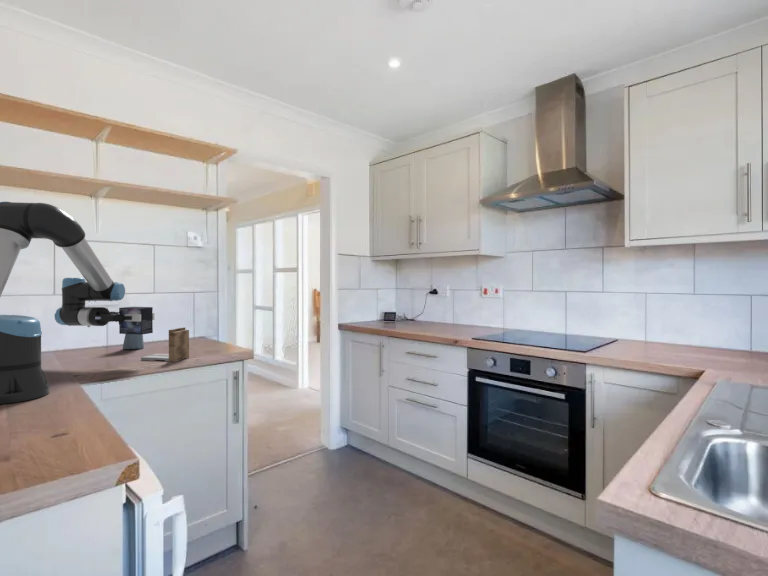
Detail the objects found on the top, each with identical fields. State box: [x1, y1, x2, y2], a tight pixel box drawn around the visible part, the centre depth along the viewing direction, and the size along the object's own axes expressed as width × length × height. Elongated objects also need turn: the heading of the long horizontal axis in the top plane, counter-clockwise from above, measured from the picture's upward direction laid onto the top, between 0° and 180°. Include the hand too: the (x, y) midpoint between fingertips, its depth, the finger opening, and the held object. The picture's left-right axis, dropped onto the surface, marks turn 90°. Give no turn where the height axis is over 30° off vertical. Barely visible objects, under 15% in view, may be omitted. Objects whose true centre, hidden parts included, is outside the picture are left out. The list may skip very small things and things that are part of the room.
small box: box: [118, 306, 154, 335], centre depth 163 cm, size 11×6×10 cm, turn 77°
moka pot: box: [117, 321, 145, 350], centre depth 201 cm, size 10×15×20 cm, turn 164°
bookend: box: [140, 326, 190, 363], centre depth 176 cm, size 10×16×13 cm, turn 82°
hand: (147, 317), depth 162 cm, fingers closed on small box, 7 cm apart
